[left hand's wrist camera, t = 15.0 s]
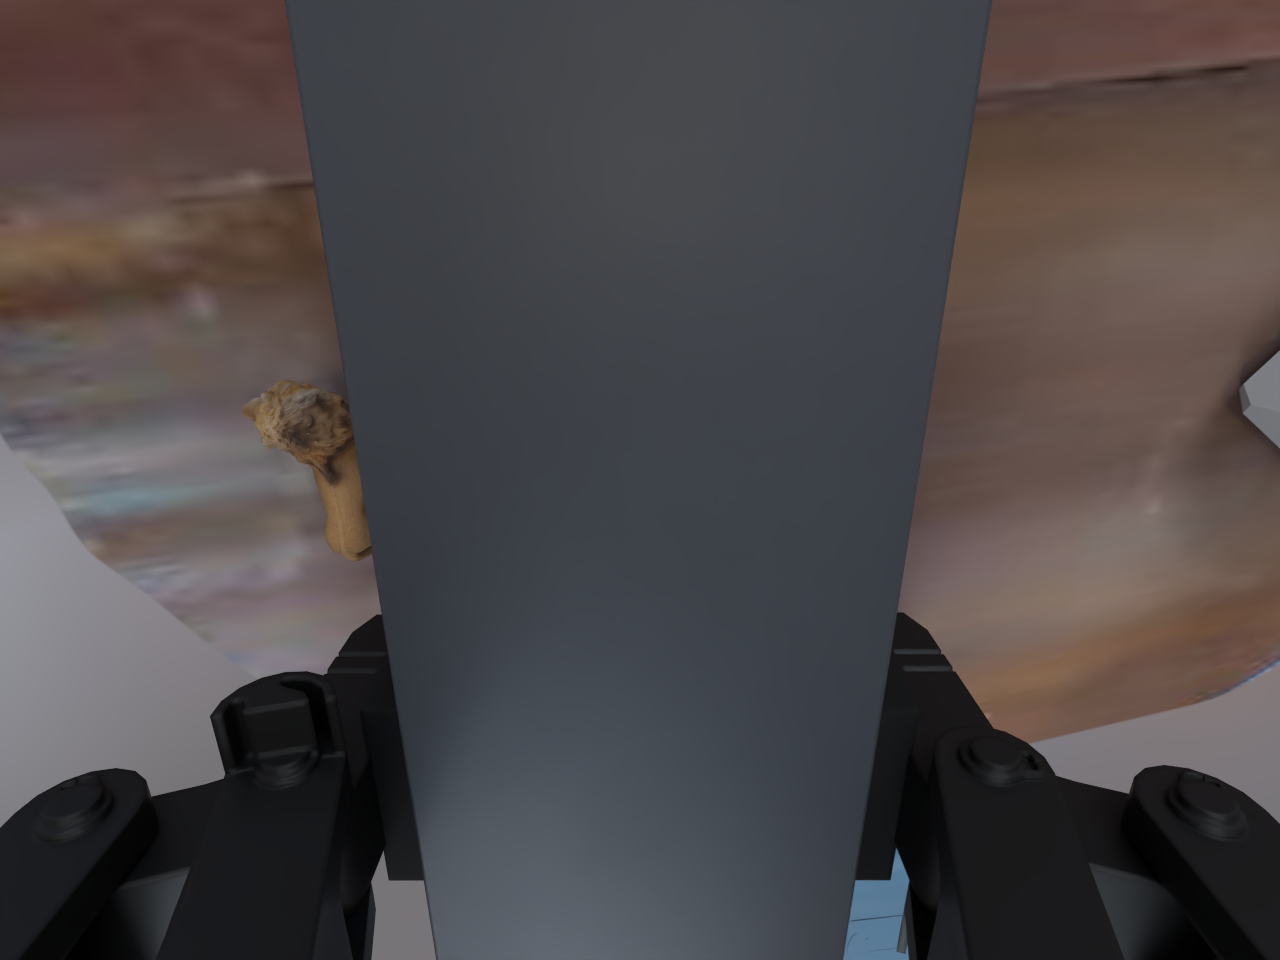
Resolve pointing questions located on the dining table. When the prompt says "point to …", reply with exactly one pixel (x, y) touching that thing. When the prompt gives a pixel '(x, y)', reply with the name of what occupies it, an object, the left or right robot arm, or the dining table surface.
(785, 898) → the post
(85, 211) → the dining table surface
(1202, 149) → the dining table surface
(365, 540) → the lion figurine
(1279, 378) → the electronic device
